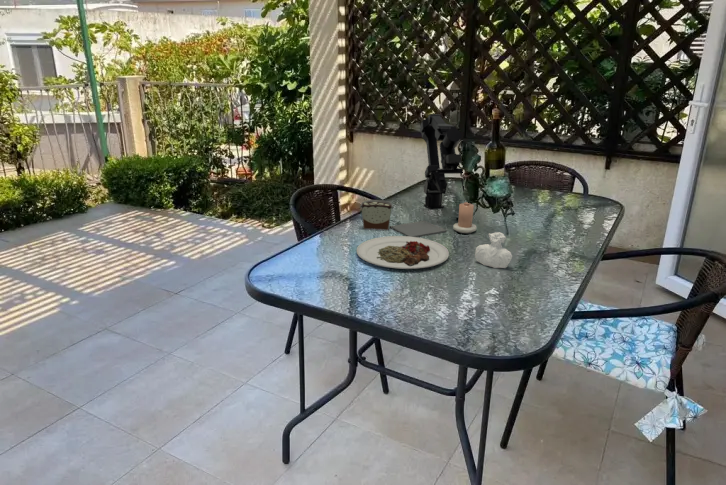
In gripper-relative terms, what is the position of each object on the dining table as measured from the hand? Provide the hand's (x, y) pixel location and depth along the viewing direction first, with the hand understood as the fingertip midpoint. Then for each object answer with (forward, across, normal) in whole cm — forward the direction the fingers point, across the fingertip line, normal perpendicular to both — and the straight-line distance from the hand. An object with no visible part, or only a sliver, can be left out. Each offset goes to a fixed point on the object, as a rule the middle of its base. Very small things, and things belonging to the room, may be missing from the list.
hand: (452, 191), depth 200 cm
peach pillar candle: (+13, +4, +2) cm, 14 cm away
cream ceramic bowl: (+15, +4, +3) cm, 16 cm away
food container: (+11, -29, +8) cm, 32 cm away
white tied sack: (+36, +3, -24) cm, 43 cm away
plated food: (+30, -24, -16) cm, 42 cm away
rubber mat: (+13, -14, +5) cm, 20 cm away
